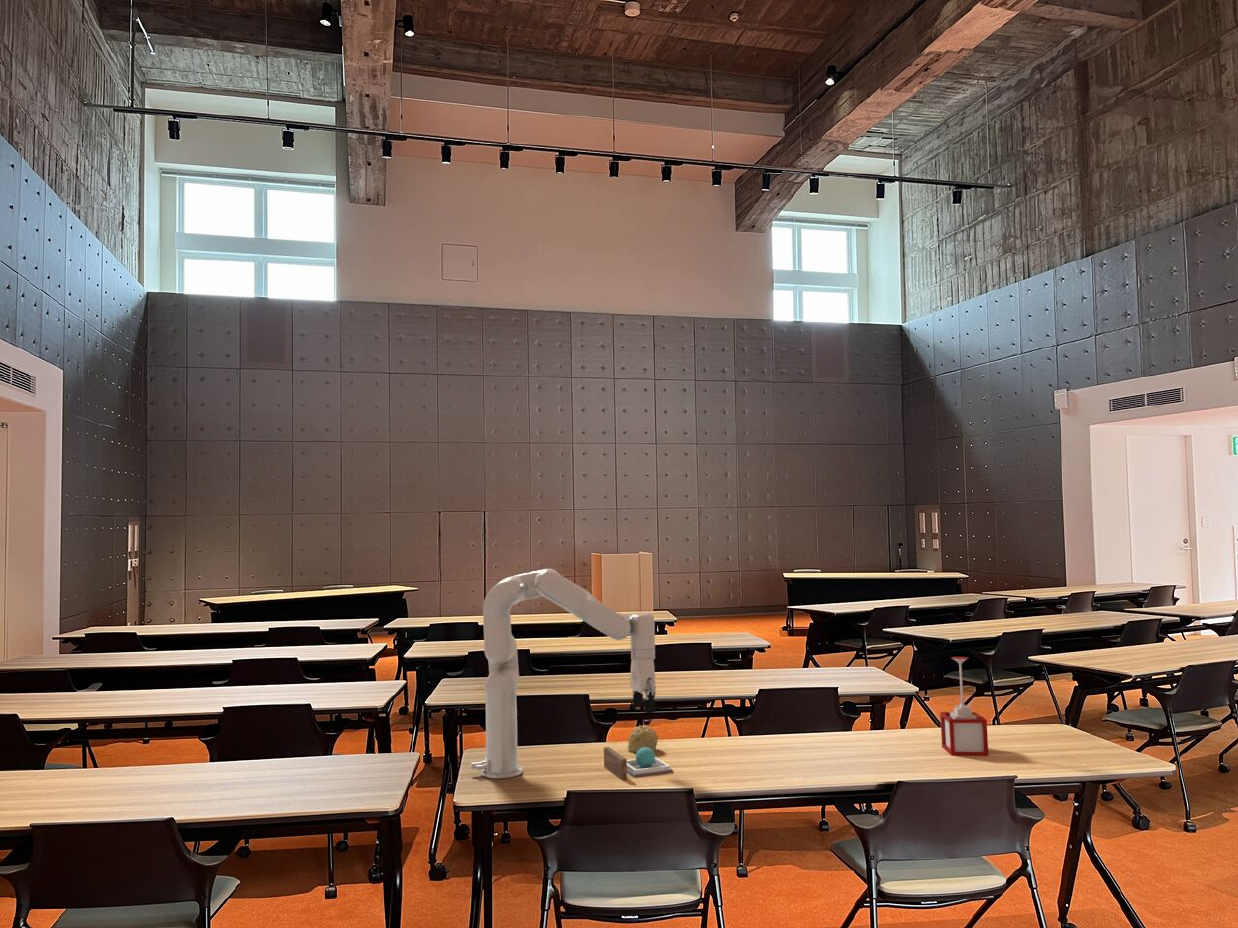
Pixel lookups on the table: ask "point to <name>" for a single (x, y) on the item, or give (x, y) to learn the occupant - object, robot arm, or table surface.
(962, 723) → the pendant light
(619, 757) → the low wall
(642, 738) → the rock
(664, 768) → the grey square tray
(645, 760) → the ball
